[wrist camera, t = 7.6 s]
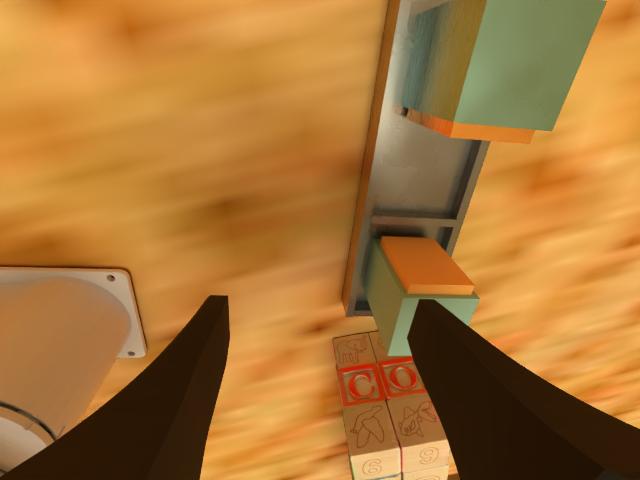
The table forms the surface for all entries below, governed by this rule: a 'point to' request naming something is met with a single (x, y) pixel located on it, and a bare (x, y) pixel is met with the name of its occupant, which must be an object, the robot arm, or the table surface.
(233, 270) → the table surface
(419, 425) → the stack of blocks
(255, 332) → the table surface
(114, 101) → the table surface
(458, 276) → the toy block
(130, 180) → the table surface
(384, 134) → the rail
